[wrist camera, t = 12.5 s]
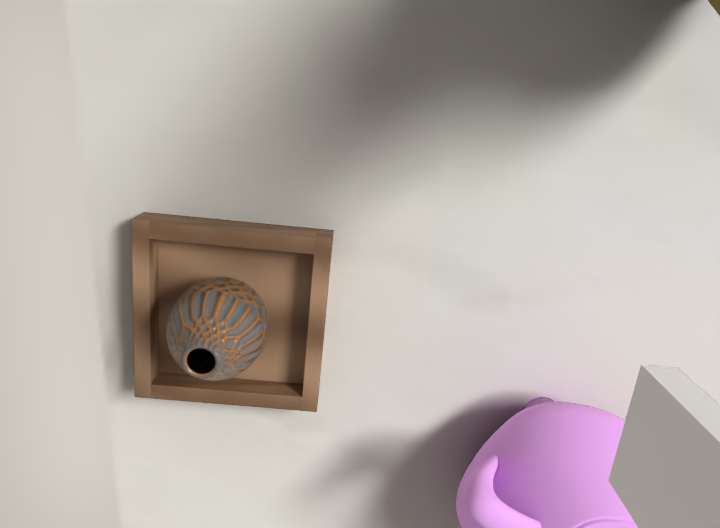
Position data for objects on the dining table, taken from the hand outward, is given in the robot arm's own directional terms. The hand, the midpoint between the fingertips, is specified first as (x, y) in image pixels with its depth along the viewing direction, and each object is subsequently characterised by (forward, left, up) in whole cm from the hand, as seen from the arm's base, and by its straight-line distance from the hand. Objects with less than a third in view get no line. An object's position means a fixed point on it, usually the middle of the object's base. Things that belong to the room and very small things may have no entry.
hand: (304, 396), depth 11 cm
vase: (+12, -7, -31) cm, 34 cm away
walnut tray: (+12, -7, -32) cm, 34 cm away
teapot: (+25, +18, -32) cm, 44 cm away
